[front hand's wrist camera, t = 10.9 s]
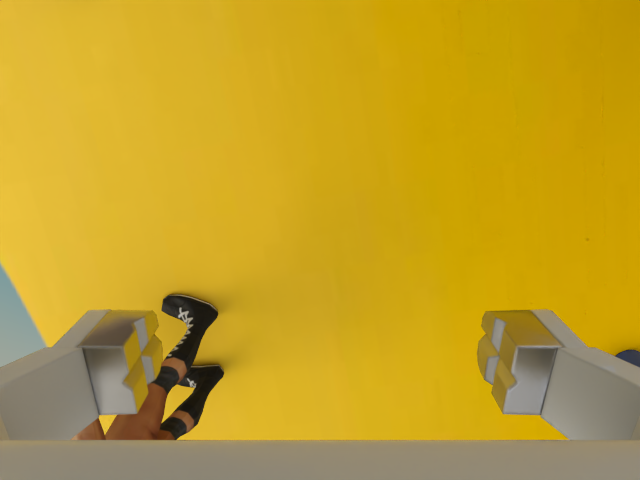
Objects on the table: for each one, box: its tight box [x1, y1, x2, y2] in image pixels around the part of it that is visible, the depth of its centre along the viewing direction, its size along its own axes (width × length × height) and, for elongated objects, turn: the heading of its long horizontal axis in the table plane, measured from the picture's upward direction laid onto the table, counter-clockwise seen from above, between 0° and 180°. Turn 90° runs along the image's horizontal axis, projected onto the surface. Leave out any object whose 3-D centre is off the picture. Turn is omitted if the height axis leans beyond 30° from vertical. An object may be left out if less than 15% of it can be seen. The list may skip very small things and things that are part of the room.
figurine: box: [70, 295, 224, 440], centre depth 32 cm, size 24×6×30 cm, turn 0°
